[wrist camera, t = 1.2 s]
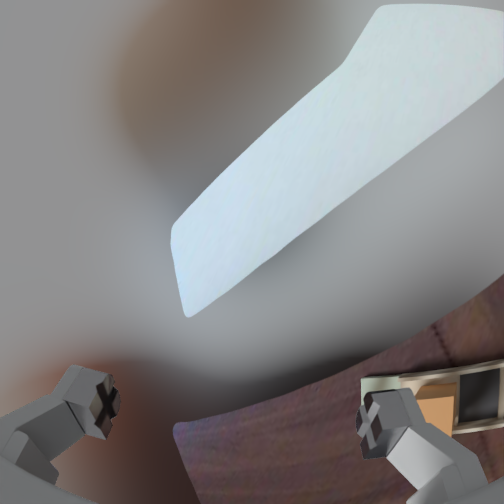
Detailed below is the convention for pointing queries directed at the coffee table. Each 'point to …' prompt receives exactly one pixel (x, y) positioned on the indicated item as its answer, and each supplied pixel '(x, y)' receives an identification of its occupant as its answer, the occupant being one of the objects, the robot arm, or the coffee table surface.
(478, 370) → the chute
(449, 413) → the orange block
